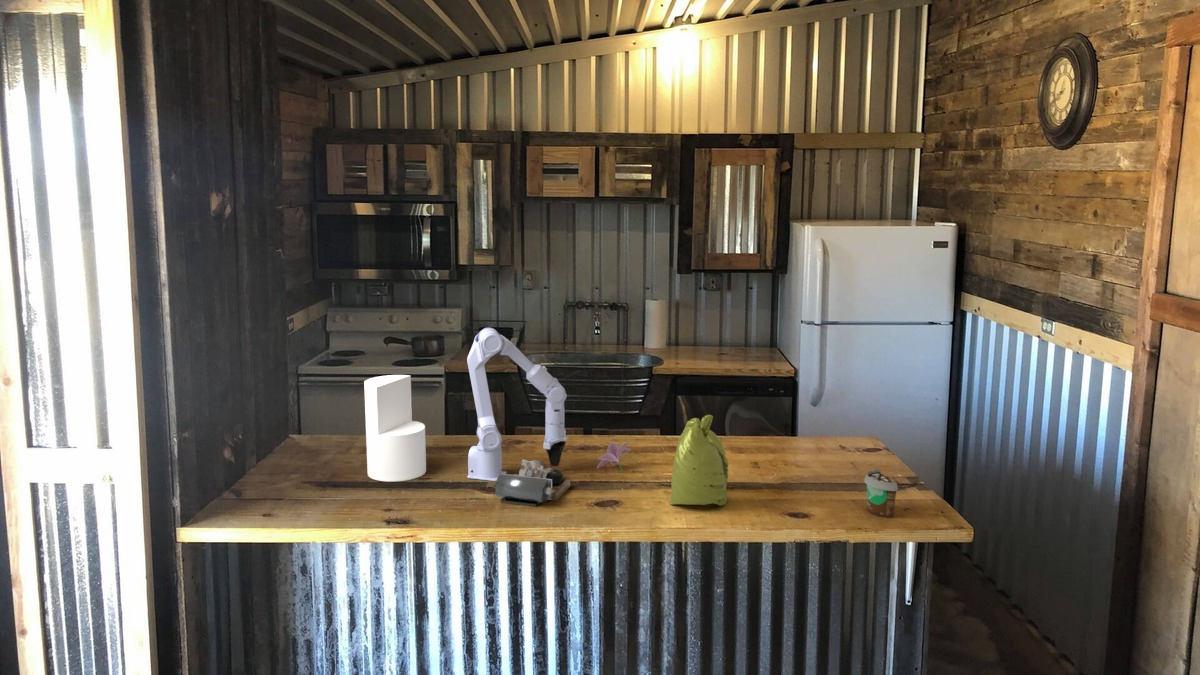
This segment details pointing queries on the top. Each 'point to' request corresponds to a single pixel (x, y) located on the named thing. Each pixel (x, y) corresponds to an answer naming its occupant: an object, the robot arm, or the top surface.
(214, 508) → the top surface
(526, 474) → the caster wheel
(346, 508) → the top surface
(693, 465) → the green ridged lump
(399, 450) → the cylinder
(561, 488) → the motor mount
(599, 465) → the lily
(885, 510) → the food container
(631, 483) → the top surface
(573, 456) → the top surface
